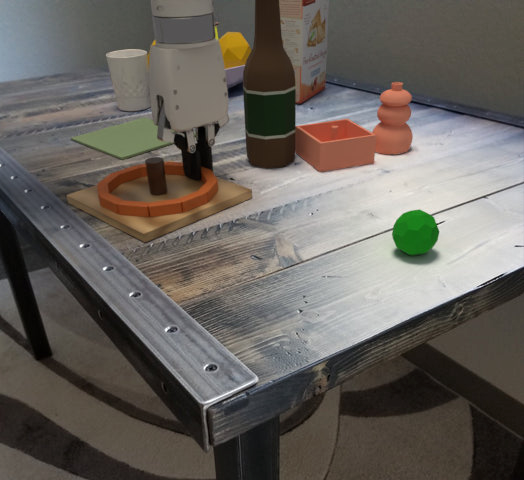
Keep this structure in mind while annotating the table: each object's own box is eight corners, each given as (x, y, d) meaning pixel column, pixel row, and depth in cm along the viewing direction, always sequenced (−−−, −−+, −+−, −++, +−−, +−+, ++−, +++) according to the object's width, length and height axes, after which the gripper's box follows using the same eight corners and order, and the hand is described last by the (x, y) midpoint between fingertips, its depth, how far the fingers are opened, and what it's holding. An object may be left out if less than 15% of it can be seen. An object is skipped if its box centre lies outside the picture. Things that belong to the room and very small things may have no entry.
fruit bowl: (218, 108, 116) (214, 45, 109) (115, 95, 127) (105, 37, 120) (285, 78, 135) (284, 23, 128) (190, 69, 146) (185, 17, 139)
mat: (122, 160, 93) (121, 157, 93) (70, 140, 103) (70, 137, 102) (198, 136, 102) (198, 133, 102) (144, 119, 111) (144, 117, 111)
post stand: (145, 242, 70) (137, 198, 66) (68, 203, 80) (58, 163, 77) (252, 197, 80) (250, 157, 76) (171, 167, 90) (166, 130, 87)
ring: (145, 227, 70) (143, 217, 69) (77, 194, 79) (74, 184, 78) (240, 189, 79) (240, 179, 78) (169, 163, 88) (168, 154, 87)
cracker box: (303, 105, 116) (304, -19, 103) (275, 102, 118) (273, -19, 106) (327, 88, 126) (331, -26, 113) (302, 86, 128) (303, -26, 116)
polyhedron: (381, 249, 66) (385, 210, 64) (413, 238, 68) (418, 199, 66) (412, 267, 63) (417, 226, 60) (444, 254, 65) (451, 215, 62)
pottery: (319, 172, 86) (322, 102, 80) (295, 152, 94) (295, 87, 88) (424, 154, 91) (433, 87, 85) (393, 137, 98) (400, 74, 92)
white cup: (162, 104, 120) (155, 51, 114) (136, 114, 114) (127, 58, 108) (133, 100, 123) (125, 48, 117) (107, 109, 118) (97, 55, 112)
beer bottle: (305, 161, 90) (308, -21, 76) (264, 173, 87) (258, -16, 72) (276, 149, 95) (274, -25, 81) (236, 159, 92) (226, -20, 78)
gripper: (212, 19, 78) (222, 156, 89) (114, 36, 70) (138, 185, 81) (251, 24, 74) (256, 167, 85) (151, 43, 65) (172, 199, 76)
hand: (199, 175), depth 83 cm, fingers closed on ring, 1 cm apart
